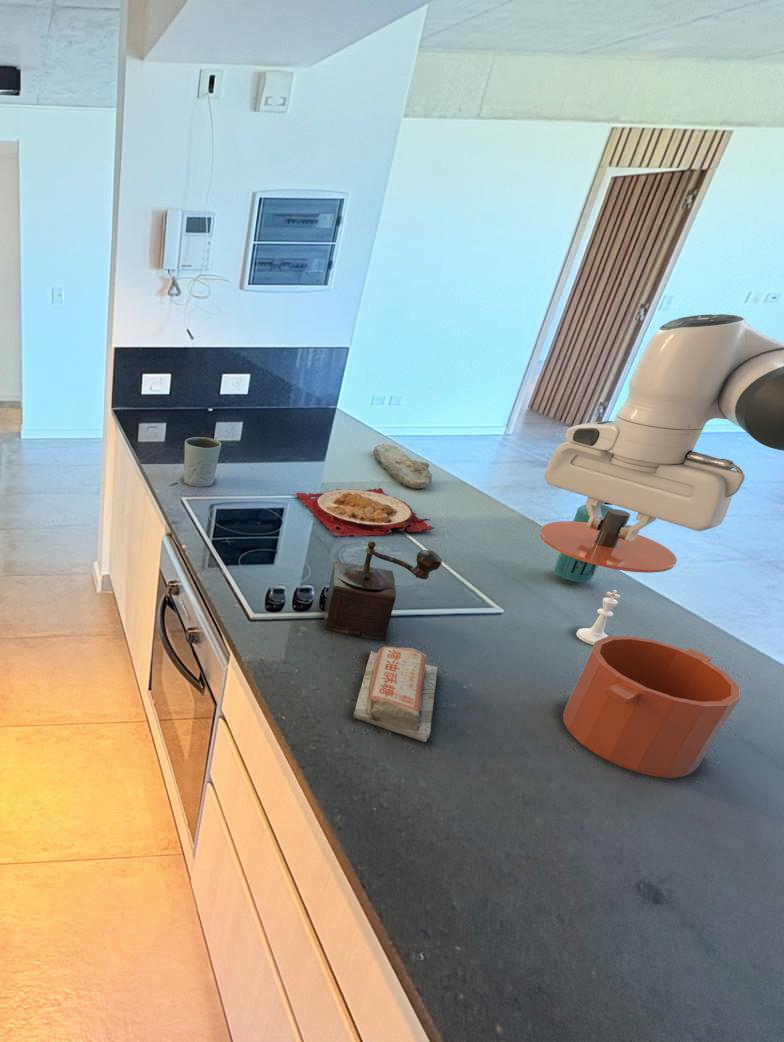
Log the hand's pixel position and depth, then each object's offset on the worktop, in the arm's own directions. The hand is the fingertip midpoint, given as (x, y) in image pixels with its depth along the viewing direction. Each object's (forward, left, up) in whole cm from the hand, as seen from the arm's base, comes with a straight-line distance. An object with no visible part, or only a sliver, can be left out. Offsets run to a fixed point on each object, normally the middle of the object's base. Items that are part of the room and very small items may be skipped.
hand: (609, 533), depth 89 cm
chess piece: (+2, -16, -26) cm, 30 cm away
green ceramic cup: (+96, +1, -26) cm, 100 cm away
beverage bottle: (+16, -34, -26) cm, 46 cm away
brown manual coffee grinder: (+22, +16, -26) cm, 37 cm away
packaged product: (+6, +28, -26) cm, 38 cm away
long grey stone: (+78, -59, -26) cm, 101 cm away
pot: (-14, +6, -25) cm, 29 cm away
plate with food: (+59, -22, -26) cm, 68 cm away
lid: (0, 0, -2) cm, 2 cm away
